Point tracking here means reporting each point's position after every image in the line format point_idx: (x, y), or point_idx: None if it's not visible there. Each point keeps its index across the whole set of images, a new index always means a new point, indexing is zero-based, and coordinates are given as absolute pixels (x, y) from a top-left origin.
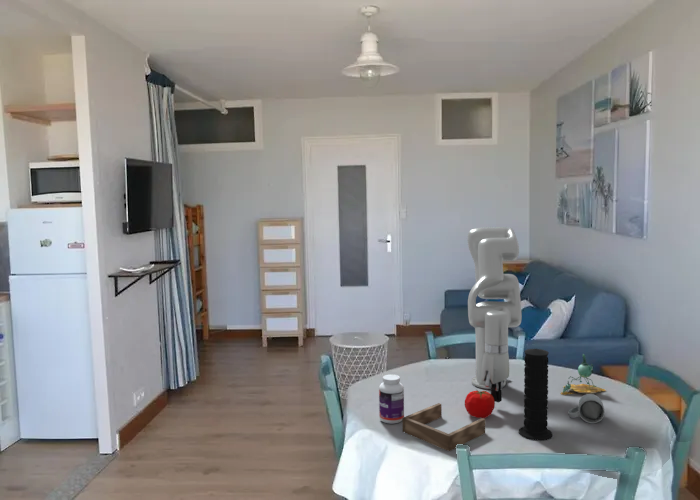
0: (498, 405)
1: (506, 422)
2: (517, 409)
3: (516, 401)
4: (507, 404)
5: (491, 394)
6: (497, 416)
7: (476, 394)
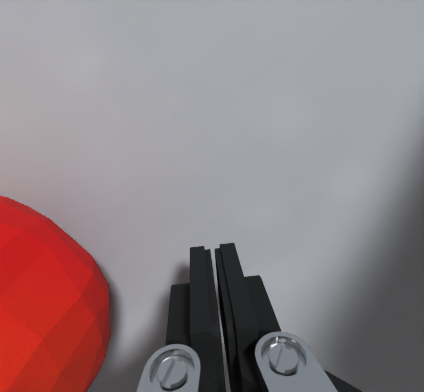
0: (268, 215)
1: (96, 388)
2: (295, 319)
3: (414, 242)
4: (327, 240)
5: (190, 286)
6: (114, 321)
7: None
